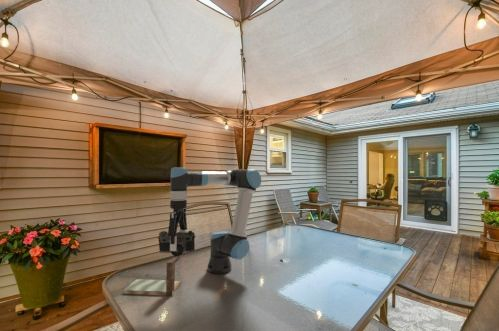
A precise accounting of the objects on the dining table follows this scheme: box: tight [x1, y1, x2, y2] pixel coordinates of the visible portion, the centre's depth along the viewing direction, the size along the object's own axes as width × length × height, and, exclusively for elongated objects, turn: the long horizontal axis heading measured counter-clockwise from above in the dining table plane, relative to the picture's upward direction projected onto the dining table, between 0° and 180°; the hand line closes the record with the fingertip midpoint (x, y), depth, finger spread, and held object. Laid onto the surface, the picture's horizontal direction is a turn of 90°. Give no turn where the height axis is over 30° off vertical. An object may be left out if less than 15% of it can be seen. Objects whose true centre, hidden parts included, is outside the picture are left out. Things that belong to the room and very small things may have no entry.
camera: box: [157, 230, 196, 257], centre depth 107 cm, size 18×9×10 cm, turn 99°
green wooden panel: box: [123, 255, 182, 297], centre depth 118 cm, size 25×12×18 cm, turn 87°
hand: (177, 246), depth 107 cm, fingers closed on camera, 10 cm apart
